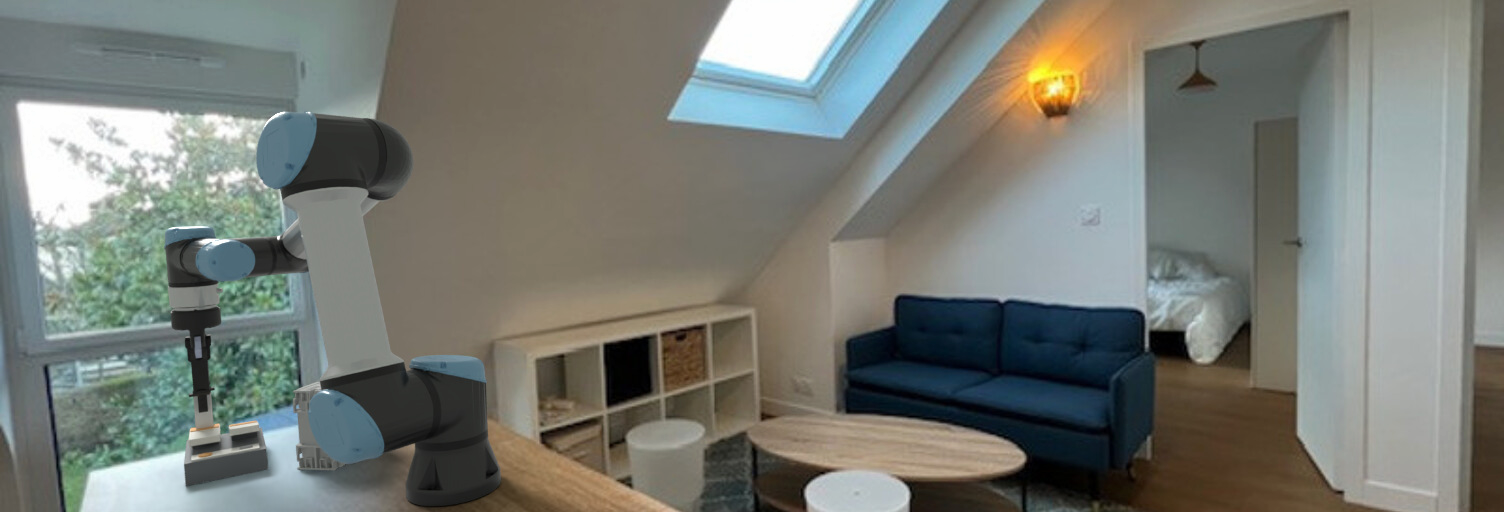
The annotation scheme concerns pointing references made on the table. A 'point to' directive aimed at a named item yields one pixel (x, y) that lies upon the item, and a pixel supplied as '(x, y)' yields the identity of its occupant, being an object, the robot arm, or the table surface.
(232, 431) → the rocker right
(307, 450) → the circuit breaker
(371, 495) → the table surface
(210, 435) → the rocker left
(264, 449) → the switch unit
